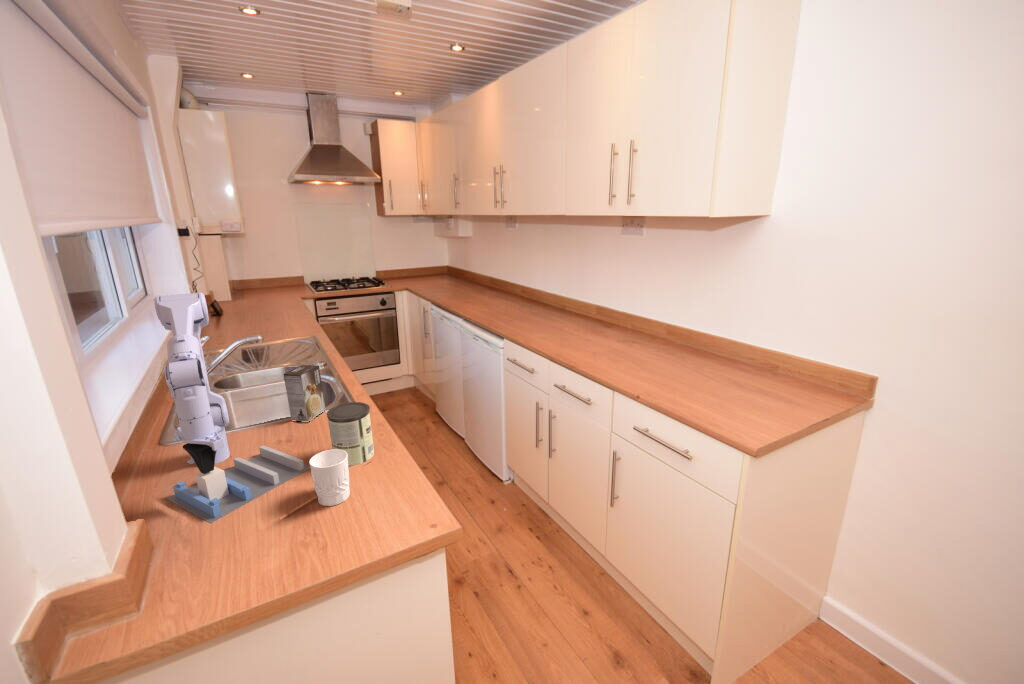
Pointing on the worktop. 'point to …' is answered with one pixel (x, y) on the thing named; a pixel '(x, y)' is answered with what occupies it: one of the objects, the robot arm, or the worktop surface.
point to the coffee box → (304, 392)
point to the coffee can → (352, 431)
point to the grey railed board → (241, 483)
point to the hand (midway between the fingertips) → (207, 471)
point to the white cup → (330, 476)
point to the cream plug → (212, 484)
